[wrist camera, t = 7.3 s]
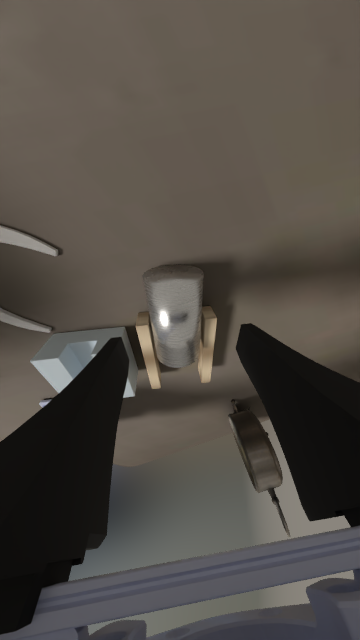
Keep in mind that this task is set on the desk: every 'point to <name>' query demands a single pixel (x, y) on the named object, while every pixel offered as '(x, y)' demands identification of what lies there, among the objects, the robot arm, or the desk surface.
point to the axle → (175, 312)
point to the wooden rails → (150, 351)
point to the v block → (80, 356)
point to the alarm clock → (257, 454)
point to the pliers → (30, 242)
